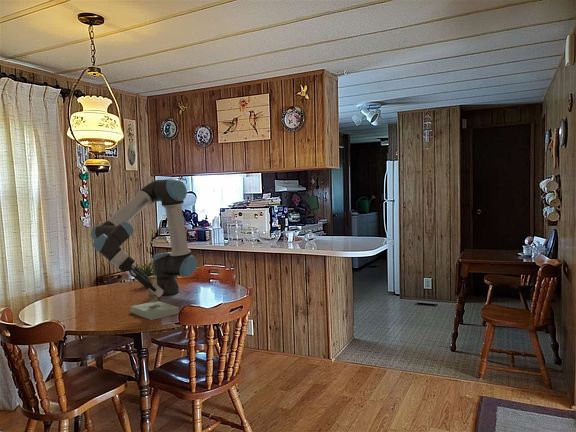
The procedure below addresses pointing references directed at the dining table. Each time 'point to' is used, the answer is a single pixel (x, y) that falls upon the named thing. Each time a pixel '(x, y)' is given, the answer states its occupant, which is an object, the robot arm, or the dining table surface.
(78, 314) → the dining table surface
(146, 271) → the house plant
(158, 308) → the seat plank
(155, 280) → the peg
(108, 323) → the dining table surface
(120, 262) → the robot arm
